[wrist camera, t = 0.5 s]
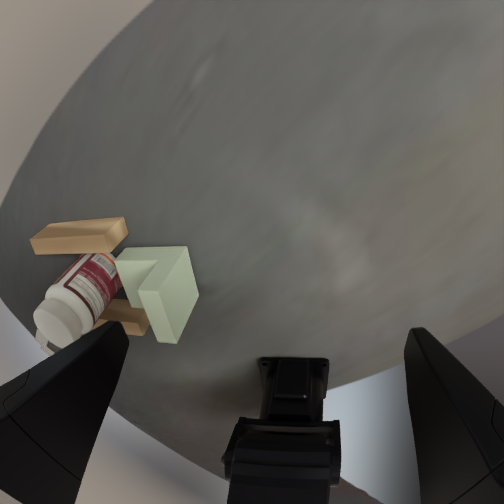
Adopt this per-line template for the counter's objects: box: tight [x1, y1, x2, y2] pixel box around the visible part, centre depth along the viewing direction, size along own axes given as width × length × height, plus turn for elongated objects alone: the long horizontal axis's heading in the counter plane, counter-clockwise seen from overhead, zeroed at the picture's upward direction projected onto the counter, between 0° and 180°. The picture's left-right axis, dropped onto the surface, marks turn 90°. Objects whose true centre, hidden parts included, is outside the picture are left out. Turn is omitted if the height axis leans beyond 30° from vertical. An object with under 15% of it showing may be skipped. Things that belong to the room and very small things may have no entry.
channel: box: [30, 217, 150, 336], centre depth 25 cm, size 10×9×3 cm
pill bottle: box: [33, 253, 123, 349], centre depth 23 cm, size 5×5×8 cm
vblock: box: [35, 328, 62, 356], centre depth 32 cm, size 11×6×3 cm, turn 7°
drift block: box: [114, 246, 199, 344], centre depth 22 cm, size 5×6×6 cm
